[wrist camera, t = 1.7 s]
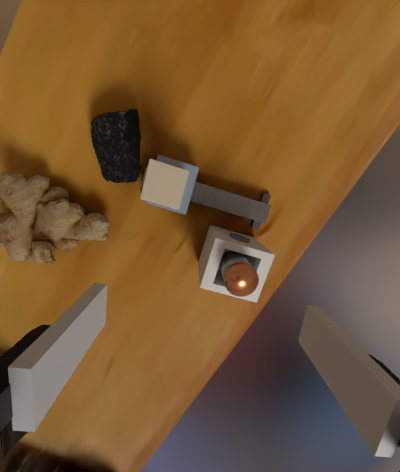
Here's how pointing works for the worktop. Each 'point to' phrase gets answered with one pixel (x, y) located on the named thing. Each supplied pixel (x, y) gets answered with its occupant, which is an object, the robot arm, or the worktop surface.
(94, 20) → the worktop surface
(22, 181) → the ginger root
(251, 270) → the copper knob
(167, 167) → the carriage
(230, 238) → the white square housing
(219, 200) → the rail
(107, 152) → the rock
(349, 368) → the robot arm
